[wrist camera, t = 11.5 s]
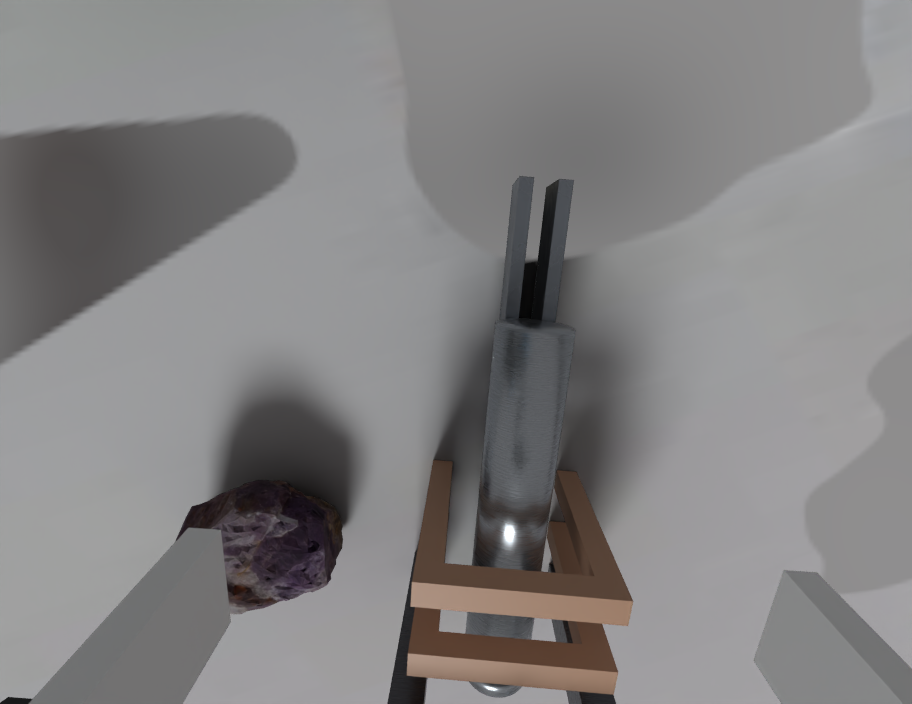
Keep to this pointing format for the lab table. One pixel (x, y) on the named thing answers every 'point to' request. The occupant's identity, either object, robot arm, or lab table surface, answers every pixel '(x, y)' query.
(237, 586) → the rock
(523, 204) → the rail cradle
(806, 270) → the lab table surface
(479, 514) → the tube
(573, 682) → the collar
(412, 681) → the dark grey u-shaped frame
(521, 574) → the collar
